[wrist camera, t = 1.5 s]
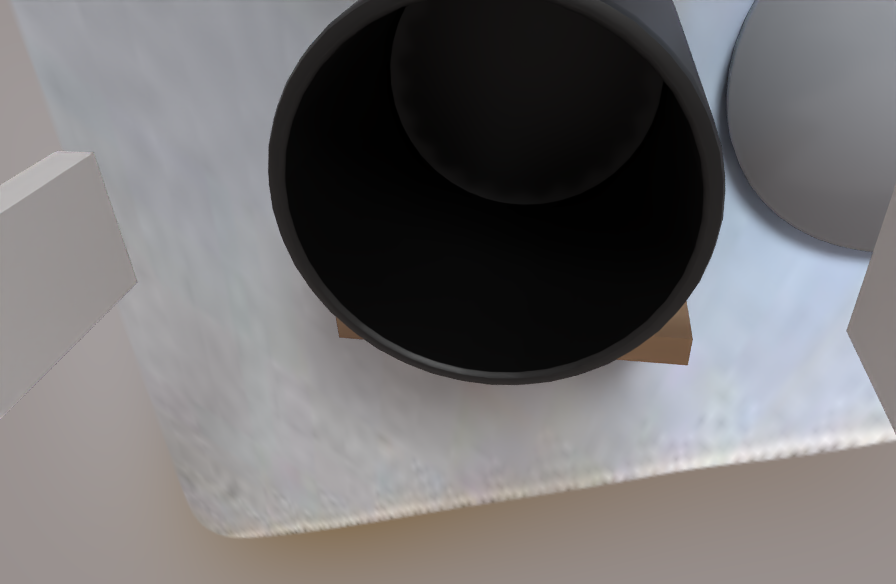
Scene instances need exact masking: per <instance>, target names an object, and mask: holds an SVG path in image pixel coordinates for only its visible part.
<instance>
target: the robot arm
mask: <svg viewBox="0 0 896 584" xmlns="http://www.w3.org/2000/svg"><path fill="white" fill-rule="evenodd" d="M136 283H137V279H136V276H135V273H134V270H133V267H132V264H131V261H130V258H129V255H128V253H127V250H126V247H125V244H124V241H123V238H122V235H121V232H120V229H119V226H118V223H117V220H116V217H115V214H114V211H113V208H112V205H111V202H110V199H109V196H108V193H107V190H106V187H105V184H104V181H103V179H102V176H101V173H100V170H99V167H98V164H97V161H96V158H95V155H94V152H67V151H55V152H53V153H52V154H50V155H48V156H47V157H45V158H43V159H42V160H40V161H39V162H37V163H35V164H34V165H32V166H30V167H29V168H27V169H25V170H24V171H22V172H21V173H19V174H17V175H15V176H14V177H13V178H11V179H9V180H7V181H6V182H4V183H2V184H1V185H0V419H1V418H2V417H3V416H4V415H5V414H6V413H7V412H8V411H9V410H10V409H11V408H12V407H13V406H14V405H15V404H16V403H17V402H18V401H19V400H20V399H21V398H22V397H23V396H24V395H25V394H26V393H27V392H28V391H29V390H30V389H31V388H32V387H33V386H34V385H35V384H36V383H37V382H38V381H39V380H40V379H41V378H42V377H43V376H44V375H45V374H46V373H47V372H48V371H49V370H50V369H51V368H52V367H53V366H54V365H55V364H56V363H57V362H58V361H59V360H60V359H61V358H62V357H63V356H64V355H65V354H66V353H67V352H68V351H69V350H70V349H71V348H72V347H73V346H74V345H75V344H76V343H77V342H78V341H79V340H80V339H81V338H82V337H83V336H84V335H85V334H86V333H87V332H88V331H89V330H90V329H91V328H92V327H93V326H94V325H95V324H96V323H97V322H98V321H99V320H100V319H101V318H102V317H103V316H104V315H105V314H106V313H107V312H108V311H109V310H110V309H111V308H112V307H113V306H114V305H115V304H116V303H117V302H118V301H119V300H120V299H121V298H122V297H123V296H124V295H125V294H126V293H127V292H128V291H129V290H130V289H131V288H132V287H133V286H134V285H135V284H136ZM847 333H848V335H849V337H850V339H851V341H852V344H853V346H854V348H855V350H856V352H857V354H858V356H859V358H860V360H861V362H862V365H863V367H864V369H865V371H866V373H867V375H868V377H869V379H870V381H871V383H872V385H873V388H874V390H875V392H876V394H877V396H878V398H879V400H880V402H881V404H882V406H883V408H884V411H885V413H886V415H887V417H888V419H889V421H890V423H891V425H892V427H893V429H894V432H895V434H896V185H895V188H894V191H893V194H892V197H891V200H890V203H889V206H888V209H887V212H886V215H885V218H884V221H883V224H882V227H881V230H880V233H879V236H878V239H877V242H876V245H875V248H874V251H873V254H872V257H871V259H870V262H869V265H868V268H867V271H866V274H865V277H864V280H863V283H862V286H861V289H860V292H859V295H858V298H857V301H856V304H855V307H854V310H853V313H852V316H851V319H850V322H849V325H848V328H847Z"/></svg>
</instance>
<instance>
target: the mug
mask: <svg viewBox="0 0 896 584" xmlns="http://www.w3.org/2000/svg"><path fill="white" fill-rule="evenodd" d="M268 174H269V187H270V193H271V200H272V207H273V211H274V215H275V218H276V221H277V224H278V227H279V231H280V234H281V236H282V239H283V241H284V244H285V246H286V248H287V250H288V252H289V254H290V256H291V258H292V260H293V262H294V264H295V266H296V268H297V269H298V271H299V272H300V274H301V275H302V277H303V278H304V280H305V281H306V283H307V284H308V286H309V287H310V288H311V289H312V291H313V292H314V293H315V295H316V296H317V297H318V298H319V299H320V300H321V301H322V303H323V304H324V305H325V306H326V307H327V308H328V309H329V311H330V312H331V313H332V314H334V315H335V316H336V317H337V318H338V319H339V320H340V321H341V322H343V323H344V324H345V325H346V326H347V327H348V328H349V329H351V330H352V331H353V332H355V333H356V334H357V335H358V336H360V337H361V338H363V339H364V340H366V341H367V342H369V343H370V344H372V345H373V346H375V347H376V348H377V349H379V350H381V351H383V352H385V353H387V354H389V355H391V356H393V357H395V358H396V359H398V360H400V361H403V362H405V363H407V364H409V365H412V366H414V367H417V368H420V369H422V370H425V371H428V372H430V373H433V374H437V375H441V376H445V377H449V378H453V379H457V380H462V381H468V382H476V383H483V384H491V385H522V384H533V383H543V382H551V381H555V380H560V379H564V378H568V377H572V376H576V375H579V374H582V373H586V372H588V371H591V370H593V369H596V368H599V367H601V366H604V365H606V364H609V363H611V362H612V361H614V360H616V359H618V358H620V357H622V356H623V355H625V354H627V353H629V352H631V351H632V350H634V349H635V348H637V347H638V346H640V345H641V344H642V343H644V342H645V341H646V340H648V339H649V338H650V337H652V336H653V335H654V334H656V333H657V332H658V331H660V329H661V328H662V327H663V326H664V325H665V324H666V323H667V322H668V321H669V320H670V319H671V318H672V317H673V316H674V315H675V314H676V313H677V312H678V311H679V309H680V308H681V307H682V306H683V305H684V303H685V302H686V300H687V299H688V298H689V296H690V295H691V293H692V292H693V290H694V289H695V288H696V286H697V285H698V283H699V282H700V280H701V278H702V276H703V274H704V271H705V269H706V267H707V265H708V263H709V261H710V259H711V256H712V254H713V251H714V248H715V246H716V242H717V239H718V235H719V231H720V227H721V224H722V220H723V211H724V199H725V172H724V163H723V153H722V145H721V142H720V139H719V136H718V132H717V129H716V126H715V122H714V119H713V116H712V113H711V110H710V107H709V104H708V101H707V98H706V95H705V93H704V90H703V87H702V84H701V81H700V78H699V75H698V72H697V69H696V66H695V63H694V61H693V58H692V55H691V52H690V49H689V46H688V43H687V40H686V37H685V34H684V31H683V29H682V26H681V23H680V20H679V17H678V14H677V11H676V8H675V6H674V3H673V1H672V0H358V1H357V2H356V3H355V4H353V5H352V6H351V7H350V8H348V9H347V10H346V11H345V12H343V13H342V14H341V15H340V16H338V17H337V18H336V19H335V20H334V21H332V22H331V23H330V24H329V25H328V26H327V27H326V28H325V29H324V31H323V32H322V33H321V34H320V35H319V36H318V37H317V38H316V40H315V41H314V42H313V43H312V44H311V45H310V46H309V48H308V49H307V50H306V52H305V53H304V55H303V56H302V57H301V59H300V61H299V62H298V64H297V65H296V67H295V69H294V70H293V72H292V74H291V75H290V77H289V79H288V80H287V82H286V85H285V88H284V90H283V93H282V95H281V98H280V101H279V103H278V106H277V109H276V113H275V116H274V121H273V126H272V131H271V136H270V142H269V162H268Z"/></svg>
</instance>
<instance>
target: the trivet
mask: <svg viewBox="0 0 896 584" xmlns="http://www.w3.org/2000/svg"><path fill="white" fill-rule="evenodd" d="M726 112H727V122H728V128H729V133H730V139H731V142H732V145H733V147H734V150H735V153H736V156H737V159H738V162H739V164H740V167H741V169H742V171H743V173H744V174H745V176H746V178H747V180H748V182H749V184H750V185H751V187H752V188H753V189H754V191H755V192H756V193H757V194H758V196H759V197H760V198H761V200H762V201H763V202H764V203H765V204H766V205H767V206H768V207H769V208H770V209H771V210H772V211H773V212H774V213H776V214H777V215H778V216H779V217H780V218H782V219H783V220H785V221H786V222H788V223H789V224H790V225H792V226H793V227H795V228H796V229H798V230H800V231H802V232H804V233H806V234H808V235H810V236H812V237H814V238H817V239H820V240H822V241H825V242H828V243H831V244H834V245H837V246H842V247H846V248H851V249H855V250H861V251H870V252H873V251H874V248H875V245H876V242H877V239H878V236H879V233H880V230H881V227H882V224H883V221H884V218H885V215H886V212H887V209H888V206H889V203H890V200H891V197H892V194H893V191H894V188H895V185H896V0H755V2H754V3H753V5H752V7H751V9H750V11H749V13H748V15H747V17H746V19H745V21H744V23H743V26H742V28H741V31H740V34H739V36H738V39H737V41H736V44H735V47H734V51H733V55H732V59H731V63H730V67H729V72H728V81H727V90H726Z"/></svg>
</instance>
